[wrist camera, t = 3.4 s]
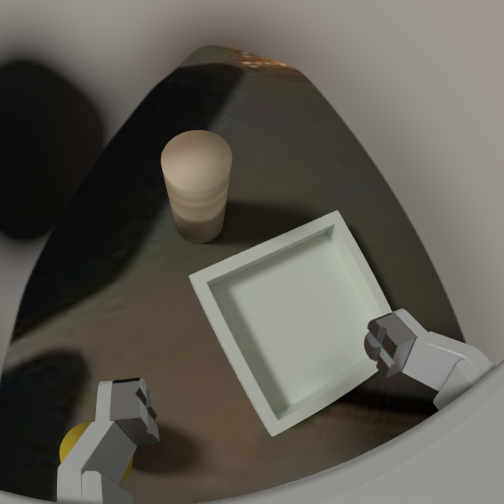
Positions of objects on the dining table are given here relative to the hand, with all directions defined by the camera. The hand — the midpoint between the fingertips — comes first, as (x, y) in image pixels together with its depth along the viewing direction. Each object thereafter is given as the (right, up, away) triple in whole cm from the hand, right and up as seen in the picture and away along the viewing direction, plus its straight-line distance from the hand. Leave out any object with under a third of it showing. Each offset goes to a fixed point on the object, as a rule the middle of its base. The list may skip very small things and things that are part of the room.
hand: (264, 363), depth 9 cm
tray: (+4, -2, +16) cm, 16 cm away
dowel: (-5, +7, +17) cm, 19 cm away
